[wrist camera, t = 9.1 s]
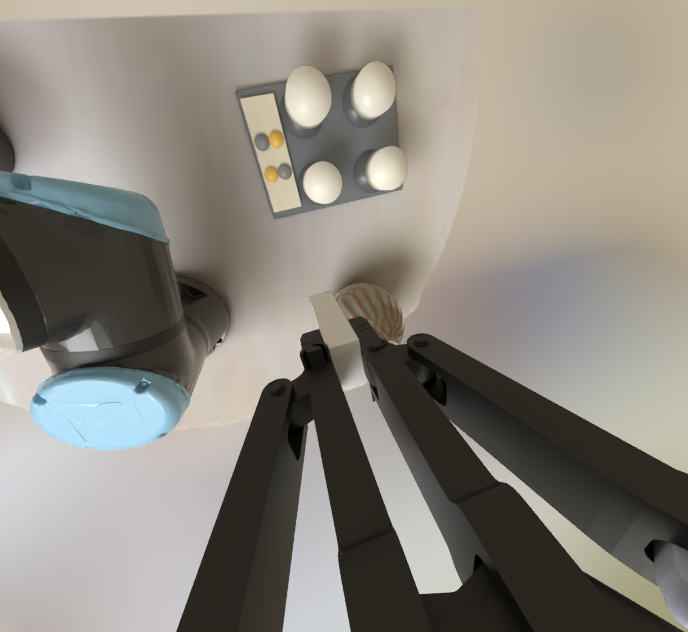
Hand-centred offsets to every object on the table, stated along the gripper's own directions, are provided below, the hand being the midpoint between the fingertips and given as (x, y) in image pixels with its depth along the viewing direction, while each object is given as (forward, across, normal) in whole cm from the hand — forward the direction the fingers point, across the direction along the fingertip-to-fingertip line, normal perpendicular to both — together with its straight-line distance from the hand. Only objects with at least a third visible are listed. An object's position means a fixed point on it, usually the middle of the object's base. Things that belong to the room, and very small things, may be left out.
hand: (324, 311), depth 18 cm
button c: (+26, +15, +7) cm, 31 cm away
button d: (+28, +15, +16) cm, 36 cm away
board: (+29, +9, +12) cm, 33 cm away
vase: (+30, +8, -15) cm, 34 cm away
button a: (+28, +6, +7) cm, 30 cm away
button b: (+26, +6, +16) cm, 32 cm away
